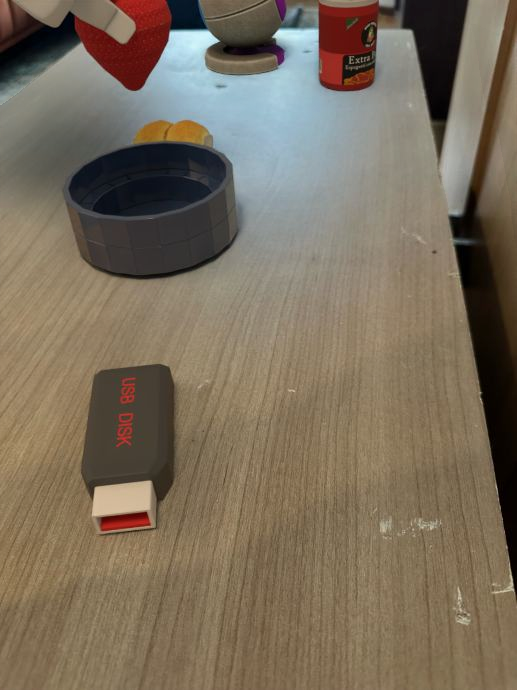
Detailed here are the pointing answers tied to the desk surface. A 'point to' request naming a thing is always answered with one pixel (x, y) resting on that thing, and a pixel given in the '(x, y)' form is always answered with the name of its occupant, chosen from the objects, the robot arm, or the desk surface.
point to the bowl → (152, 206)
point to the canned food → (347, 43)
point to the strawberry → (130, 42)
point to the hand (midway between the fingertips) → (130, 21)
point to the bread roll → (174, 132)
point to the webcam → (243, 35)
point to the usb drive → (129, 446)
